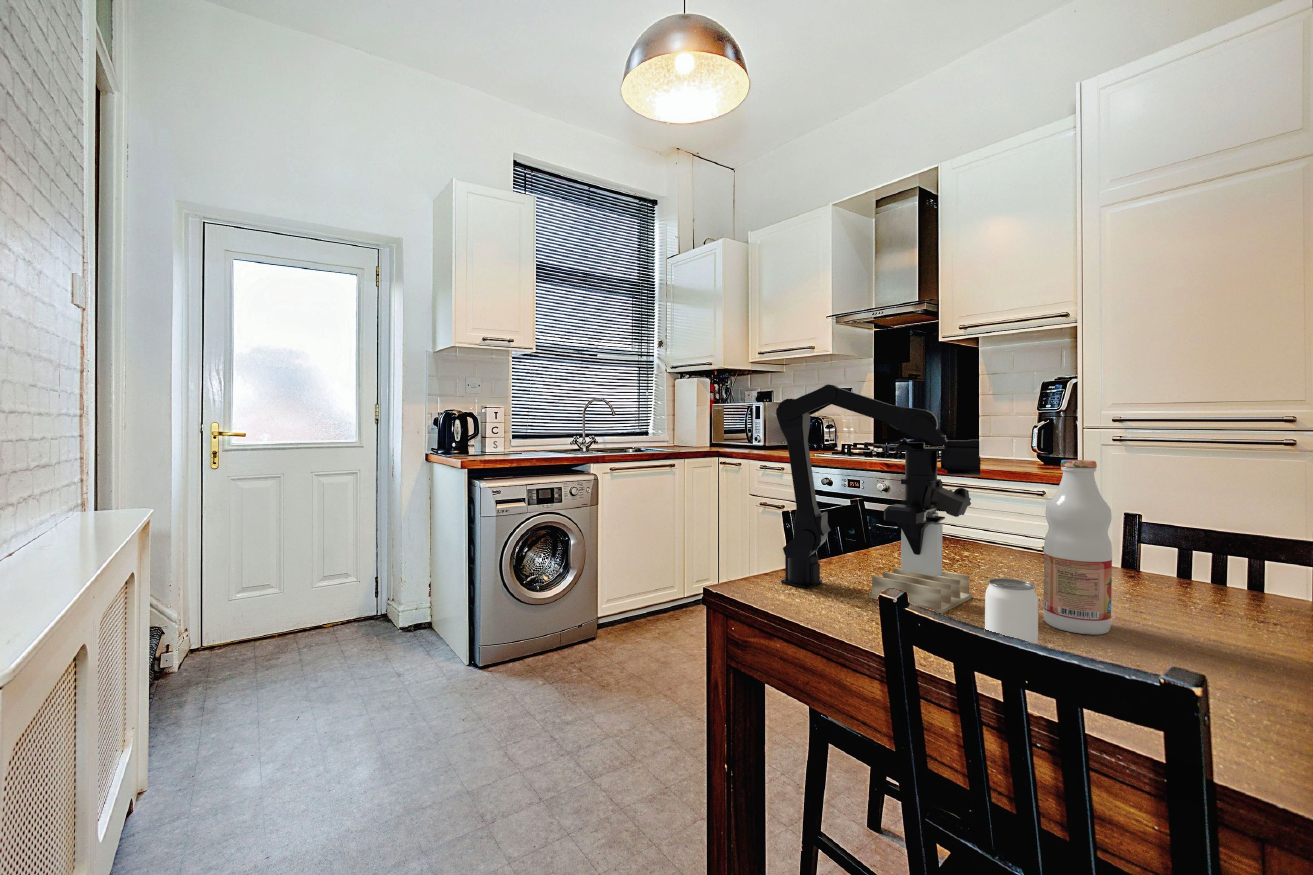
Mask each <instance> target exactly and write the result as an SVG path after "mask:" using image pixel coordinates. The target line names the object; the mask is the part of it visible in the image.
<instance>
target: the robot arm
mask: <svg viewBox="0 0 1313 875" xmlns="http://www.w3.org/2000/svg"><path fill="white" fill-rule="evenodd" d="M831 405H832V406H836V407H839V408H841V409H845V410H847V411H850V412H852V413H856V414H860V415H861V416H865V417H868V418H870V419H874V420H877V421H880V422H883V423H885V424H887V425H889V426H891V428H894V429H896V430H897V431H899V432H901V433H902V434H904V435H906V436H909V437H910V438H911V439H912V438H913V439H914V440H925V441H927V442H929V443H930V444H932V445H934V446H944V447H926V443H925V442H924V441H921V442H920V441H919V442H918V441H916V442H915V441H912V442H911V441H909V440H908V439H907V438H905V437H904V438H902V440H901V441H900V442H899V444H897V445H896V446H894V451H902V452H904V451H905V452H904V453H905V458H904V459H905V463H904V467H905V468H904V469H905V470H904V472H905V474H904V478H900V484H901V485H904V498H903V499H900V504H898V503H895V504H891V505H888V506H887V507H886V508H885V509H884V510H883V520H884V521H886V522H887V521H888V522H894V523H897V524H898V525H899V528H900V530H901V529H902V531H903V532H904V534H905V536H906V538H907V540H908V542H909V544H910V547H911V549H912V551H913V553H914V554H916V555H920V553H921V548H922V542H923V535H924V529H925V528H926V527H927V526H928V525H929V524H930V523H931V522H936V523H942V521H943V520H945V519H946V516H941V515H939V512H942V513H944V512H945V513H946V514H947V515H949V516H952V517H955V518H959V516H964V515H965V514H966V510H967V508H968V507H971V504H972V502H971V499H972V498H971V497H970V492H969V490H968V489H966V488H964V487H957V488H956V489H954V491H953V490H952V489H947V488H944V486H943V483H944V482H943V481H942V479H941V478H940V479H939V478H938V452H940V469H941V470H943V471H946V474H947V475H946V476H970V477H973V476H975V477H981V461H982V460H981V456H980V440H979V439H968V440H950V439H948V438H947V435H946V434H945V435H944V433H943V432H942V431H941V430H940V429H939V421H938V418H937V416H936V415H935V414H934V413H933V412H932V411H930V410H927V409H921V408H915V407H907V406H900V405H893V404H889V403H887V402H883V401H881V400H877V399H874V398H872V397H868V396H866V395H862V394H859V393H855V392H853V391H849V390H846V389H843V388H841V387H839V386H837V385H834V384H824V385H823V386H821V387H820V388H817V389H816V390H813V391H810V392H808V393H806V394H803V395H801V396H799V397H797V398H785V399H783V400H782V401H780V402H779V404H778V405H777V406H776V410H775V415H776V416H775V417H776V420H777V421H778V426H779V428H780V430H781V433H782V435H783V437H784V439H785V441H786V445H787V451H788V458H789V463H790V464H789V466H790V472H791V480H792V486H793V492H794V500H795V505H796V506H795V515H794V521H793V538H792V539H791V540H790V541H789V542H788V543H787V544H786V545H785V546H783V548H782V551H783V554H784V556H785V557H784V558H785V559H784V561H785V562H784V563H785V567H784V572H785V573H784V574H785V577H784V578H783V579H781V580H780V584H781V583H782V584H785V585H790V586H793V587H798V588H801V589H809V588H812V587H815V586H818V585H821V584H823V580H822V579H821V574H820V573H821V564H820V563H819V555H818V554H815V553H816V552H817V551H818V550H819V547H821V546H822V545H823V544H824V543H825V542H826V540H827V538H828V535H829V534H828V533H829V532H830V531H831V530H832V529H831V528H830V526H829V523H828V520H829V519H828V517H829V516H828V515H829V514H828V511H824V512H821V510H820V508H819V506H818V502H817V497H816V490H815V483H814V476H813V469H812V467H813V466H812V463H811V461H812V460H811V455H810V454H811V453H810V446H809V441H808V440H809V435H810V434H809V433H810V429H811V428H810V427H811V415H814V414H816V413H818V412H820V411H822V410H823V409H825V408H827V407H830V406H831Z"/></svg>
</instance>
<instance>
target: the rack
mask: <svg viewBox="0 0 1313 875" xmlns="http://www.w3.org/2000/svg"><path fill="white" fill-rule="evenodd" d="M892 572H893V573H892ZM892 572H888V571H882V577H881V576H878V575H872V576H871V577H872V579H871V592H869V593H868V598H869V597H870V598H869V599H872V598H874V599H875V600H877V596H878V595H879V594H880V592H881V591H882V590H884V589H887V588H895V589H899V590H902V591H905V592H907V593H908V597H909V603H910V604H912V605H914V606H919V607H923V608H928V609H931V610H934V611H936V612H939V613H943V614H945V613H947V612H948V610H949V611H950V610H953V609H954V608H956V607H958V606H960V605H962V604H963V603H965V602H967V601H969V600H971V599H972V598H973V595H974V594H973V593H971V592H970V575H968V574H963V573H956V572H950V571H946V570H942V575H940V576H938V577H934V576H928V575H923V574H918V573H913V572H908V571H903V570H901V568H899V567H893V570H892ZM874 599H873V600H874ZM952 608H953V609H952ZM943 614H942V615H943Z"/></svg>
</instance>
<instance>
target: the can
mask: <svg viewBox="0 0 1313 875" xmlns="http://www.w3.org/2000/svg"><path fill="white" fill-rule="evenodd" d="M988 583H989V584H988V586H987V587H986V590H985V597H984V630H985V629H986V630H989V631H992V632H996V633H1000V634H1002V635H1005V636H1010V637H1014V638H1019V639H1022V640H1025V641H1029V642H1033V643H1037V644H1038V645H1039V597H1038V595H1037V591H1035V584H1034V583H1031V582H1029V581H1025V580H1020V579H1016V578H1005V577H1004V578H1003V577H1000V578H999V577H996V578H991V579H989V580H988Z"/></svg>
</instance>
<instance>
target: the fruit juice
mask: <svg viewBox="0 0 1313 875" xmlns="http://www.w3.org/2000/svg"><path fill="white" fill-rule="evenodd" d="M1097 467H1098V465H1097V461H1096V460H1086V459H1062V460H1061V462H1060V470H1061V471H1062V476H1061V477H1062V478H1061V480H1060V483H1059V484H1058V488H1057V490H1056V492H1055V494H1054V495H1053V496H1052V497H1051V498H1050V499H1049V501H1047V504H1046V507H1045V512H1044V513H1045V518H1046V522H1047V525H1048V529H1047V533H1046V534H1045V535H1044V543H1043V598H1042V599H1043V603H1042V604H1043V606H1042V607H1043V608H1042V610H1043V611H1042V612H1043V613H1042V614H1043V619H1044V621H1045V623H1046V624H1047V625H1049V626H1050V627H1052V628H1054V629H1058V630H1061V631H1065V632H1069V633H1074V634H1080V635H1093V636H1094V635H1095V636H1096V635H1104V634H1107V633H1109V632H1110V630H1111V625H1112V580H1113V573H1112V572H1113V546H1112V542H1111V541H1112V540H1111V538H1110V537H1109V528H1110V526H1111V523H1112V518H1113V516H1112V515H1113V514H1112V509H1111V507H1110V506H1109V504H1108V503H1107V502H1106V501H1105V499H1104V498H1103V496H1102V494H1101V493H1100V490H1099V488H1098V484H1097V482H1096V478H1095V472H1096V471H1097Z"/></svg>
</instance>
